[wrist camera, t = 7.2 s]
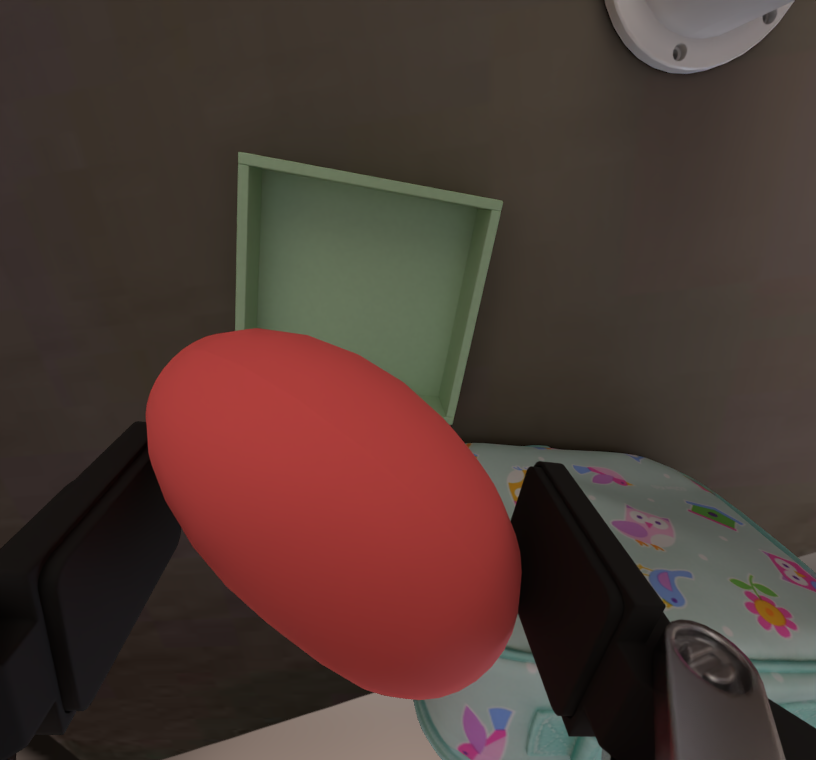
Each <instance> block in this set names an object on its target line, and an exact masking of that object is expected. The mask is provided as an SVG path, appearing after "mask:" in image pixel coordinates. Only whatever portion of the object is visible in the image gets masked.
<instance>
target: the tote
mask: <svg viewBox="0 0 816 760" xmlns="http://www.w3.org/2000/svg"><path fill="white" fill-rule="evenodd" d="M238 163H239V164H238V195H237V251H236V308H235V331H238V330H245V329H253V328H260V329H268V330H275V331H282V332H289V333H296V334H304V335H309V336H311V337H314V338H316V339H319V340H322V341H324V342H327V343H330V344H332V345H335V346H337V347H340V348H343V349H345V350H348V351H351V352H353V353H356V354H358V355H360V356H362V357H363V358H365V359H367V360H368V361H370V362H371V363H373V364H375V365H376V366H378V367H380V368H381V369H383V370H384V371H386V372H388V373H389V374H391V375H393V376H394V377H396V378H398V379H399V380H401V381H402V382H404V383H405V384H406V385H407V386H408V387H409V388H410V389H412V390H413V391H414V392H415V393H416V394H417V395H418V396H419V397H420V398H422V399H423V400H424V401H425V402H426V403H427V404H428V405H429V406H430V407H432V408H433V409H434V410H435V411H436V412H437V413H438V414H439V415H440V416H442V417H443V419H444V420H445V421H446V422H447V423H448V424H449V425H452V424H453V420H454V416H455V411H456V407H457V403H458V398H459V394H460V389H461V385H462V381H463V376H464V372H465V367H466V363H467V359H468V354H469V350H470V346H471V341H472V337H473V332H474V328H475V324H476V319H477V315H478V310H479V306H480V302H481V297H482V293H483V289H484V284H485V280H486V275H487V271H488V267H489V262H490V258H491V253H492V249H493V245H494V240H495V236H496V231H497V227H498V223H499V218H500V214H501V212H500V211H501V209H502V205H503V201H501V200H496V199H491V198H485V197H480V196H474V195H469V194H464V193H458V192H453V191H448V190H442V189H437V188H432V187H426V186H421V185H415V184H410V183H405V182H399V181H394V180H389V179H383V178H378V177H373V176H367V175H362V174H357V173H351V172H346V171H340V170H335V169H330V168H324V167H319V166H314V165H308V164H303V163H298V162H292V161H287V160H281V159H276V158H271V157H265V156H260V155H255V154H249V153H244V152H238Z"/></svg>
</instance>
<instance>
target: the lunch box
mask: <svg viewBox="0 0 816 760" xmlns="http://www.w3.org/2000/svg"><path fill="white" fill-rule="evenodd" d="M465 444H466V445H467V447H468V448H469V449H470V450H471V452H472V453H473V454H474V456H475V457H476V458H477V460H478V461H479V462H480V464H481V465H482V467H483V468H484V469H485V471H486V472H487V474H488V475H489V477H490V478H491V480H492V482H493V483H494V485H495V487H496V489H497V491H498V493H499V495H500V497H501V499H502V502H503V504H504V506H505V509H506V511H507V514H508V516H509V519H510V521H511V518H512V515H513V512H514V508H515V505H516V502H517V499H518V496H519V493H520V490H521V487H522V484H523V480H524V477H525V474H526V471H527V469H528V468H529V467H530V466H533V467H534V465H535V464H536V462H538V461H543V462H553V463H561V464H563V465H564V466H565V467H566V468H567V470H568V471H569V473H570V474H571V475H572V477H573V478H574V480H575V481H576V482H577V484H578V485H579V486H580V488H581V489H582V491H583V492H584V493H585V495H586V496H587V497H588V499H589V500H590V502H591V503H592V504H593V506H594V507H595V509H596V510H597V511H598V513H599V514H600V515H601V517H602V518H603V520H604V521H605V522H606V524H607V525H608V527H609V528H610V529H611V531H612V532H613V533H614V535H615V536H616V538H617V539H618V540H619V542H620V543H621V544H622V546H623V547H624V549H625V550H626V551H627V553H628V554H629V556H630V557H631V558H632V560H633V561H634V562H635V564H636V565H637V567H638V568H639V569H640V571H641V572H642V573H643V575H644V576H645V578H646V579H647V580H648V582H649V583H650V585H651V586H652V587H653V589H654V590H655V591H656V593H657V594H658V596H659V597H660V598H661V600H662V601H663V603H664V604H665V605H666V607H665V609H664V611H663V612H664V614H665V615H666V617H667V618H668V619H669V621H670V622H671V621H675V620H679V619H683V620H691V621H695V622H698V623H700V624H703V625H706V626H708V627H710V628H711V629H713V630H715V631H717V632H719V633H721V634H722V635H723V636H725V637H726V638H727V639H729V640H730V641H731V642H733V643H734V644H735V645H736V646H737V647H738V648H739V649H740V650H741V651H742V652H743V653H744V654H745V655H746V656H747V657H748V658H749V659H750V661H751V662H752V663H753V665H754V666H755V667H756V669H757V670H758V672H759V675H760V677H761V679H762V681H763V684H764V687H765V691H766V694H767V697H768V698H769V699H770V700H772V701H773V702H775V703H777V704H778V705H780V706H781V707H783V708H784V709H786V710H788V711H789V712H791V713H792V714H794V715H796V716H797V717H799V718H800V719H802V720H803V721H805V722H807V723H808V724H810V725H811V726H813V727H815V728H816V573H815V572H814V571H813V570H811V569H810V568H809V567H808V566H807V565H806V564H804V563H803V562H802V561H801V560H800V559H799V558H797V557H796V556H795V555H794V554H793V553H792V552H790V551H789V550H788V549H787V548H786V547H784V546H783V545H782V544H781V543H779V542H778V541H777V540H776V539H775V538H773V537H772V536H771V535H770V534H768V533H767V532H766V531H765V530H763V529H762V528H761V527H760V526H758V525H757V524H756V523H755V522H753V521H752V520H751V519H750V518H748V517H747V516H746V515H744V514H743V513H742V512H740V511H739V510H738V509H736V508H735V507H734V506H732V505H731V504H730V503H728V502H727V501H726V500H724V499H723V498H722V497H720V496H719V495H717V494H716V493H715V492H713V491H712V490H710V489H709V488H708V487H706V486H705V485H703V484H701V483H700V482H698V481H696V480H695V479H693V478H691V477H689V476H687V475H685V474H683V473H681V472H678V471H677V470H675V469H672V468H670V467H668V466H665V465H663V464H660V463H658V462H656V461H653V460H651V459H648V458H645V457H641V456H637V455H632V454H624V453H615V452H601V451H579V450H562V449H555V448H550V447H549V446H542V445H530V446H512V445H500V444H488V443H465ZM413 701H414V706H415V709H416V714H417V718H418V721H419V723H420V726H421V729H422V730H423V732H424V734H425V735H426V738H427V739H428V741H429V742H430V744H431V746H432V747H433V749H434V750H435V751H436V753H437V754H438V755H439V757H440V758H441V759H442V760H601V755H602V748H601V747H600V746H599V744H598V742H597V739H596V737H569V736H568V733H567V730H566V728H565V725H564V722H563V720H562V717H561V716H557V715H556V714H555V713H554V711H553V710H552V707H551V705H550V702H549V699H548V697H547V694H546V691H545V688H544V685H543V683H542V680H541V677H540V674H539V671H538V669H537V666H536V663H535V660H534V657H533V654H532V652H531V649H530V646H529V643H528V640H527V638H526V635H525V632H524V629H523V626H522V624H521V621H520V618H519V615H517V618H516V622H515V625H514V629H513V632H512V635H511V637H510V639H509V641H508V643H507V645H506V647H505V649H504V651H503V652H502V654H501V655H500V656H499V658H498V659H497V660H496V662H495V663H494V664H493V666H492V667H491V668H490V669H489V670H488V671H487V672H486V673H484V674H483V675H482V676H481V677H480V678H479V679H478V680H477V681H475V682H474V683H472V684H470V685H469V686H467V687H465V688H464V689H462V690H460V691H459V692H456V693H453V694H450V695H447V696H444V697H441V698H435V699H426V700H413Z"/></svg>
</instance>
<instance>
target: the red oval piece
mask: <svg viewBox="0 0 816 760" xmlns="http://www.w3.org/2000/svg"><path fill="white" fill-rule="evenodd" d="M146 425H147V439H148V454H149V457H150V461H151V465H152V467H153V470H154V472H155V475H156V478H157V480H158V483H159V486H160V488H161V491H162V493H163V496H164V499H165V501H166V503H167V505H168V506H169V508H170V510H171V511H172V513H173V515H174V516H175V518H176V520H177V521H178V523H179V524H180V526H181V528H182V529H183V531H184V533H185V534H186V536H187V538H188V539H189V541H190V543H191V544H192V546H193V547H194V549H195V550H196V551H197V552H198V553H199V554H200V556H201V557H202V558H203V559H204V560H205V562H206V563H207V564H208V565H209V566H210V567H211V569H212V570H213V571H214V572H215V573H216V575H217V576H218V577H219V578H220V579H221V580H222V582H223V583H224V584H225V585H226V586H227V587H228V588H229V589H230V590H231V591H232V592H233V593H234V594H235V595H237V596H238V597H239V598H240V599H241V600H242V601H243V602H244V603H245V604H247V605H248V606H249V607H250V608H251V609H252V610H253V611H254V612H255V613H257V614H258V615H259V616H260V617H261V618H262V619H263V620H264V621H265V622H267V623H268V624H269V625H271V626H272V627H273V628H275V629H276V630H277V631H278V632H280V633H281V634H282V635H284V636H285V637H286V638H288V639H289V640H290V641H291V642H293V643H294V644H295V645H297V646H298V647H299V648H301V649H302V650H303V651H305V652H306V653H307V654H309V655H310V656H311V657H313V658H314V659H315V660H317V661H318V662H319V663H321V664H322V665H324V666H326V667H327V668H329V669H331V670H332V671H334V672H336V673H337V674H339V675H341V676H342V677H344V678H346V679H348V680H349V681H351V682H353V683H354V684H356V685H358V686H359V687H361V688H363V689H365V690H368V691H371V692H375V693H378V694H381V695H384V696H391V697H397V698H405V699H413V700H426V699H435V698H441V697H444V696H447V695H450V694H453V693H456V692H459V691H460V690H462V689H464V688H465V687H467V686H469V685H470V684H472V683H474V682H475V681H477V680H478V679H479V678H480V677H481V676H482V675H483V674H484V673H486V672H487V671H488V670H489V669H490V668H491V667H492V666H493V664H494V663H495V662H496V660H497V659H498V658H499V656H500V655H501V654H502V652H503V651H504V649H505V647H506V645H507V643H508V641H509V639H510V637H511V635H512V632H513V629H514V625H515V622H516V618H517V615H518V607H519V597H520V587H521V576H522V569H521V555H520V549H519V545H518V541H517V538H516V534H515V531H514V529H513V526H512V524H511V521H510V519H509V516H508V514H507V511H506V509H505V506H504V504H503V502H502V499H501V497H500V495H499V493H498V491H497V489H496V487H495V485H494V483H493V482H492V480H491V478H490V477H489V475H488V474H487V472H486V471H485V469H484V468H483V467H482V465H481V464H480V462H479V461H478V460H477V458H476V457H475V456H474V454H473V453H472V452H471V450H470V449H469V448H468V447H467V445H466V444H465V443H464V442H463V440H462V439H461V438H460V437H459V436H458V435H457V433H456V432H455V431H454V430H453V429H452V428H451V426H450V425H449V424H448V423H447V422H446V421H445V420H444V419H443V417H442V416H440V415H439V414H438V413H437V412H436V411H435V410H434V409H433V408H432V407H430V406H429V405H428V404H427V403H426V402H425V401H424V400H423V399H422V398H420V397H419V396H418V395H417V394H416V393H415V392H414V391H413V390H412V389H410V388H409V387H408V386H407V385H406V384H405V383H404V382H402V381H401V380H399V379H398V378H396V377H394V376H393V375H391V374H389V373H388V372H386V371H384V370H383V369H381V368H380V367H378V366H376V365H375V364H373V363H371V362H370V361H368V360H367V359H365V358H363V357H362V356H360V355H358V354H356V353H353V352H351V351H348V350H345V349H343V348H340V347H337V346H335V345H332V344H330V343H327V342H324V341H322V340H319V339H316V338H314V337H311V336H309V335H304V334H296V333H289V332H282V331H275V330H268V329H260V328H253V329H245V330H238V331H232V332H225V333H219V334H214V335H210V336H206V337H204V338H202V339H199V340H197V341H195V342H193V343H192V344H190V345H189V346H187V347H186V348H184V349H183V350H182V351H180V352H179V353H178V354H177V355H176V356H175V357H173V359H172V360H171V361H170V362H169V363H168V364H167V365H166V366H165V368H164V369H163V370H162V372H161V373H160V375H159V376H158V378H157V379H156V381H155V384H154V386H153V388H152V390H151V392H150V395H149V399H148V402H147V408H146Z"/></svg>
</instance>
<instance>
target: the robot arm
mask: <svg viewBox="0 0 816 760" xmlns="http://www.w3.org/2000/svg"><path fill="white" fill-rule="evenodd" d="M794 1H795V0H605V5H606V8H607V11H608V13H609V16H610V19H611V21H612V24H613V27H614V28H615V30H616V32H617V33H618V35H619V36H620V38H621V40H622V41H623V43H624V44H625V46H626V47H627V48H628V49H629V50H630V51H631V52H632V53H633V54H634V55H635V56H636V57H637V58H638V59H640V60H641V61H643V62H645V63H646V64H648V65H649V66H651V67H653V68H656V69H659V70H662V71H665V72H668V73H680V74H690V73H695V72H701V71H706V70H709V69H711V68H714V67H717V66H720V65H722V64H725V63H727V62H729V61H731V60H733V59H735V58H737V57H738V56H740V55H742V54H744V53H745V52H747V51H748V50H749V49H751V48H752V47H753V46H755V45H756V44H757V43H758V42H760V41H761V40H762V39H763V38H764V37H765V36H766V35H767V34H768V33H769V32H770V31H771V30H772V29H773V28H774V27H775V26H776V25H777V24H778V23H779V21H780V20H781V19H782V17H783V16H784V15H785V13H786V12H787V10H788V9H789V8H790V6H791V5H792V4H793V2H794ZM511 524H512V526H513V529H514V531H515V534H516V538H517V541H518V545H519V549H520V555H521V569H522V576H521V587H520V597H519V607H518V615H519V618H520V621H521V624H522V626H523V629H524V632H525V635H526V638H527V640H528V643H529V646H530V649H531V652H532V654H533V657H534V660H535V663H536V666H537V669H538V671H539V674H540V677H541V680H542V683H543V685H544V688H545V691H546V694H547V697H548V699H549V702H550V705H551V707H552V710H553V711H554V713H555V714H556V715H557V716H561V717H562V720H563V722H564V725H565V728H566V730H567V733H568V736H569V737H596V739H597V742H598V744H599V746H600V747H601V748H602V755H601V760H816V728H815V727H813V726H811V725H810V724H808V723H807V722H805V721H803V720H802V719H800V718H799V717H797V716H796V715H794V714H792V713H791V712H789V711H788V710H786V709H784V708H783V707H781V706H780V705H778V704H777V703H775V702H773V701H772V700H770V699H769V698H768V697H767V694H766V691H765V687H764V684H763V681H762V679H761V677H760V675H759V672H758V670H757V669H756V667H755V666H754V665H753V663H752V662H751V661H750V659H749V658H748V657H747V656H746V655H745V654H744V653H743V652H742V651H741V650H740V649H739V648H738V647H737V646H736V645H735V644H734V643H733V642H731V641H730V640H729V639H727V638H726V637H725V636H723V635H722V634H721V633H719V632H717V631H715V630H713V629H711V628H710V627H708V626H706V625H703V624H700V623H698V622H695V621H691V620H683V619H679V620H675V621H671V622H670V621H669V619H668V618H667V617H666V615H665V614H664V612H663V611H664V609H665V607H666V605H665V604H664V603H663V601H662V600H661V598H660V597H659V596H658V594H657V593H656V591H655V590H654V589H653V587H652V586H651V585H650V583H649V582H648V580H647V579H646V578H645V576H644V575H643V573H642V572H641V571H640V569H639V568H638V567H637V565H636V564H635V562H634V561H633V560H632V558H631V557H630V556H629V554H628V553H627V551H626V550H625V549H624V547H623V546H622V544H621V543H620V542H619V540H618V539H617V538H616V536H615V535H614V533H613V532H612V531H611V529H610V528H609V527H608V525H607V524H606V522H605V521H604V520H603V518H602V517H601V515H600V514H599V513H598V511H597V510H596V509H595V507H594V506H593V504H592V503H591V502H590V500H589V499H588V497H587V496H586V495H585V493H584V492H583V491H582V489H581V488H580V486H579V485H578V484H577V482H576V481H575V480H574V478H573V477H572V475H571V474H570V473H569V471H568V470H567V468H566V467H565V466H564V465H563V464H561V463H553V462H543V461H538V462H536V464H535V465H534V467H533V466H530V467H529V468H528V469H527V471H526V474H525V477H524V480H523V484H522V487H521V490H520V493H519V496H518V499H517V502H516V505H515V508H514V512H513V515H512V518H511ZM180 534H181V526H180V524H179V523H178V521H177V520H176V518H175V516H174V515H173V513H172V511H171V510H170V508H169V506H168V505H167V503H166V501H165V499H164V496H163V493H162V491H161V488H160V486H159V483H158V480H157V478H156V475H155V472H154V470H153V467H152V465H151V461H150V457H149V454H148V439H147V425H146V422H139V421H138V422H135V423H133V424H132V425H131V426H130V427H129V428H128V429H127V430H126V431H125V432H124V433H123V434H122V435H121V436H120V437H119V438H118V439H116V440H115V441H114V442H113V443H112V444H111V445H110V446H109V447H108V448H107V449H106V450H105V451H104V452H103V453H102V454H101V455H100V456H99V457H98V458H97V459H96V460H95V461H94V462H93V463H92V464H91V465H90V466H89V467H88V468H87V469H86V470H84V471H83V472H82V473H81V474H80V475H79V476H78V477H77V478H76V479H75V480H74V481H72V482H71V483H69V484H68V485H67V486H65V487H64V488H63V489H62V490H61V491H60V492H59V493H58V494H57V495H56V496H55V497H54V498H53V499H52V500H51V501H50V502H49V503H48V504H47V505H46V506H45V507H44V508H43V509H41V510H40V511H39V512H38V513H37V514H36V515H35V516H34V517H33V518H32V519H31V520H30V521H29V522H28V523H27V524H26V525H25V526H24V527H23V528H22V529H21V530H20V531H19V532H18V533H16V534H15V535H14V536H13V537H12V538H11V539H10V540H9V541H8V542H7V543H6V544H5V545H4V546H3V547H2V548H1V549H0V760H16V753H17V752H19V751H20V750H22V749H23V748H25V747H26V746H28V744H29V742H30V741H31V739H32V738H33V736H34V735H63V734H64V733H65V731H66V729H67V727H68V725H69V724H70V722H71V720H72V718H73V717H74V715H75V713H76V711H84V710H86V709H87V708H88V707H89V705H90V704H91V703H92V701H93V699H94V698H95V696H96V694H97V692H98V690H99V688H100V687H101V685H102V683H103V681H104V679H105V677H106V676H107V674H108V672H109V670H110V668H111V666H112V665H113V663H114V661H115V659H116V657H117V655H118V654H119V652H120V650H121V648H122V646H123V644H124V643H125V641H126V639H127V637H128V635H129V633H130V632H131V630H132V628H133V626H134V624H135V622H136V621H137V619H138V617H139V615H140V613H141V611H142V610H143V608H144V606H145V604H146V602H147V600H148V599H149V597H150V595H151V593H152V591H153V589H154V588H155V586H156V584H157V582H158V580H159V578H160V577H161V575H162V573H163V571H164V569H165V567H166V566H167V564H168V562H169V560H170V558H171V556H172V555H173V553H174V551H175V549H176V547H177V545H178V542H179V539H180Z"/></svg>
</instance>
